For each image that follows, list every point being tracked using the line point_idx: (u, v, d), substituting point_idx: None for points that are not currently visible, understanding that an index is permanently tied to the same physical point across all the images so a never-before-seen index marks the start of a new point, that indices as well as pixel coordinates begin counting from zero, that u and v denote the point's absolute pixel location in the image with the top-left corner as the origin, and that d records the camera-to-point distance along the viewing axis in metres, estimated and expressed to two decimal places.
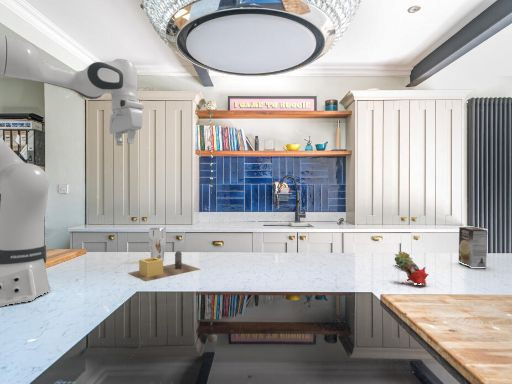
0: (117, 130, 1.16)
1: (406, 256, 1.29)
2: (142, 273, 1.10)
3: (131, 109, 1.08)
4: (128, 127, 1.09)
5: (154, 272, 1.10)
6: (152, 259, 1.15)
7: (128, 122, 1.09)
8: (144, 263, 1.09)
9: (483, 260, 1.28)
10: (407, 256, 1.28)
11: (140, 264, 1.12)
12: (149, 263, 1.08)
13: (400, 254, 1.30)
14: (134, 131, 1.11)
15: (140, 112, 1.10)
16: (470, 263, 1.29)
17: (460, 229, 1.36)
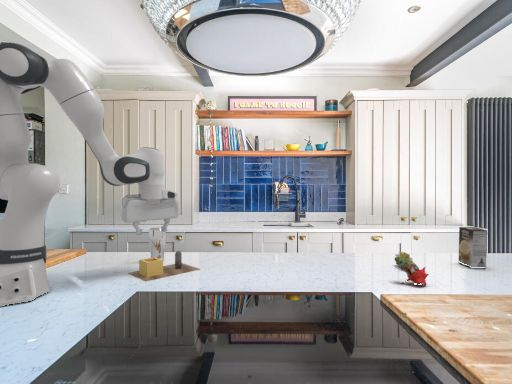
0: (148, 219, 1.09)
1: (406, 256, 1.28)
2: (142, 273, 1.10)
3: None
4: (172, 217, 1.16)
5: (154, 272, 1.10)
6: (152, 259, 1.15)
7: (172, 212, 1.16)
8: (144, 263, 1.09)
9: (483, 260, 1.28)
10: (407, 256, 1.27)
11: (140, 264, 1.12)
12: (149, 263, 1.08)
13: (400, 254, 1.30)
14: None
15: None
16: (470, 263, 1.29)
17: (460, 229, 1.36)
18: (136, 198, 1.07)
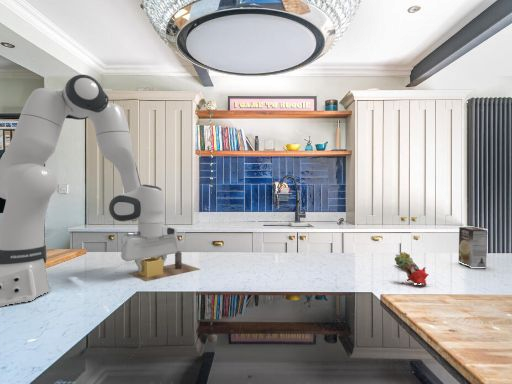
0: (147, 256, 1.09)
1: (407, 256, 1.28)
2: (142, 273, 1.10)
3: None
4: (171, 252, 1.16)
5: (154, 272, 1.10)
6: (152, 259, 1.15)
7: (172, 248, 1.16)
8: (144, 263, 1.09)
9: (483, 260, 1.28)
10: (408, 256, 1.27)
11: None
12: (149, 263, 1.08)
13: (401, 254, 1.30)
14: None
15: None
16: (470, 263, 1.29)
17: (460, 229, 1.36)
18: (136, 236, 1.08)
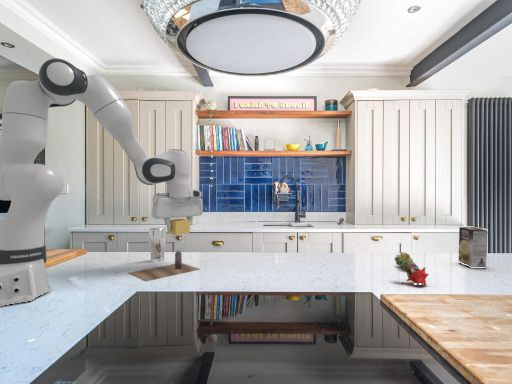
0: (175, 216, 1.17)
1: (407, 257, 1.27)
2: (170, 232, 1.18)
3: None
4: (196, 214, 1.24)
5: (182, 231, 1.18)
6: (179, 220, 1.22)
7: (197, 210, 1.24)
8: (172, 222, 1.17)
9: (483, 260, 1.28)
10: (408, 257, 1.26)
11: None
12: (177, 222, 1.16)
13: (401, 255, 1.29)
14: None
15: None
16: (470, 263, 1.29)
17: (460, 229, 1.36)
18: (165, 196, 1.15)
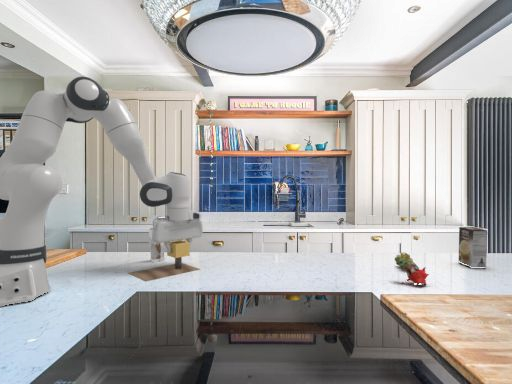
0: (175, 239, 1.17)
1: (407, 257, 1.27)
2: (170, 254, 1.18)
3: None
4: (196, 236, 1.24)
5: (182, 253, 1.18)
6: (179, 242, 1.23)
7: (197, 232, 1.24)
8: (172, 245, 1.17)
9: (483, 260, 1.28)
10: (408, 257, 1.26)
11: None
12: (177, 245, 1.17)
13: (401, 255, 1.29)
14: None
15: None
16: (470, 263, 1.29)
17: (460, 229, 1.36)
18: (165, 220, 1.16)
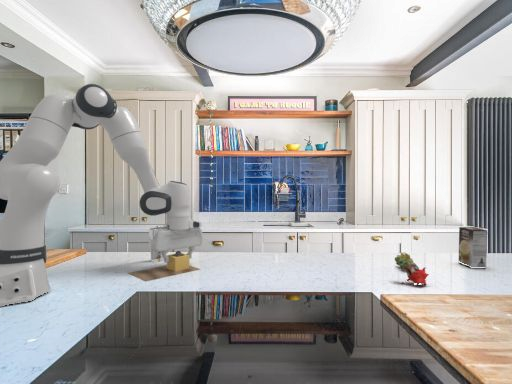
0: (175, 248, 1.17)
1: (407, 257, 1.27)
2: (170, 267, 1.18)
3: None
4: (196, 245, 1.24)
5: (181, 266, 1.18)
6: None
7: (197, 240, 1.24)
8: (172, 258, 1.17)
9: (483, 260, 1.28)
10: (408, 257, 1.26)
11: None
12: (177, 258, 1.16)
13: (402, 255, 1.29)
14: None
15: None
16: (470, 263, 1.29)
17: (460, 229, 1.36)
18: (165, 228, 1.15)
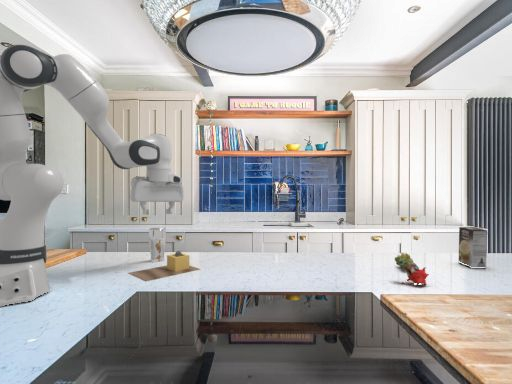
0: (154, 200, 1.17)
1: (408, 257, 1.26)
2: (170, 267, 1.18)
3: None
4: (176, 200, 1.23)
5: (181, 266, 1.18)
6: None
7: (177, 196, 1.23)
8: (172, 258, 1.17)
9: (483, 260, 1.28)
10: (408, 257, 1.25)
11: (167, 259, 1.19)
12: (177, 258, 1.16)
13: (402, 255, 1.28)
14: None
15: None
16: (470, 263, 1.29)
17: (460, 229, 1.36)
18: (144, 180, 1.15)
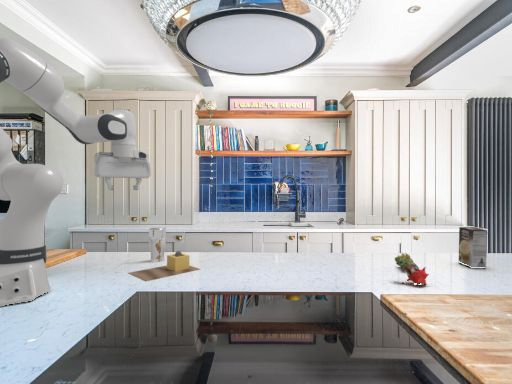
0: (119, 176, 1.17)
1: (408, 258, 1.26)
2: (170, 267, 1.18)
3: None
4: (143, 176, 1.23)
5: (181, 266, 1.18)
6: None
7: (144, 172, 1.24)
8: (172, 258, 1.17)
9: (483, 260, 1.28)
10: (408, 258, 1.25)
11: (167, 259, 1.19)
12: (177, 258, 1.16)
13: (402, 255, 1.28)
14: None
15: None
16: (470, 263, 1.29)
17: (460, 229, 1.36)
18: (108, 155, 1.15)
